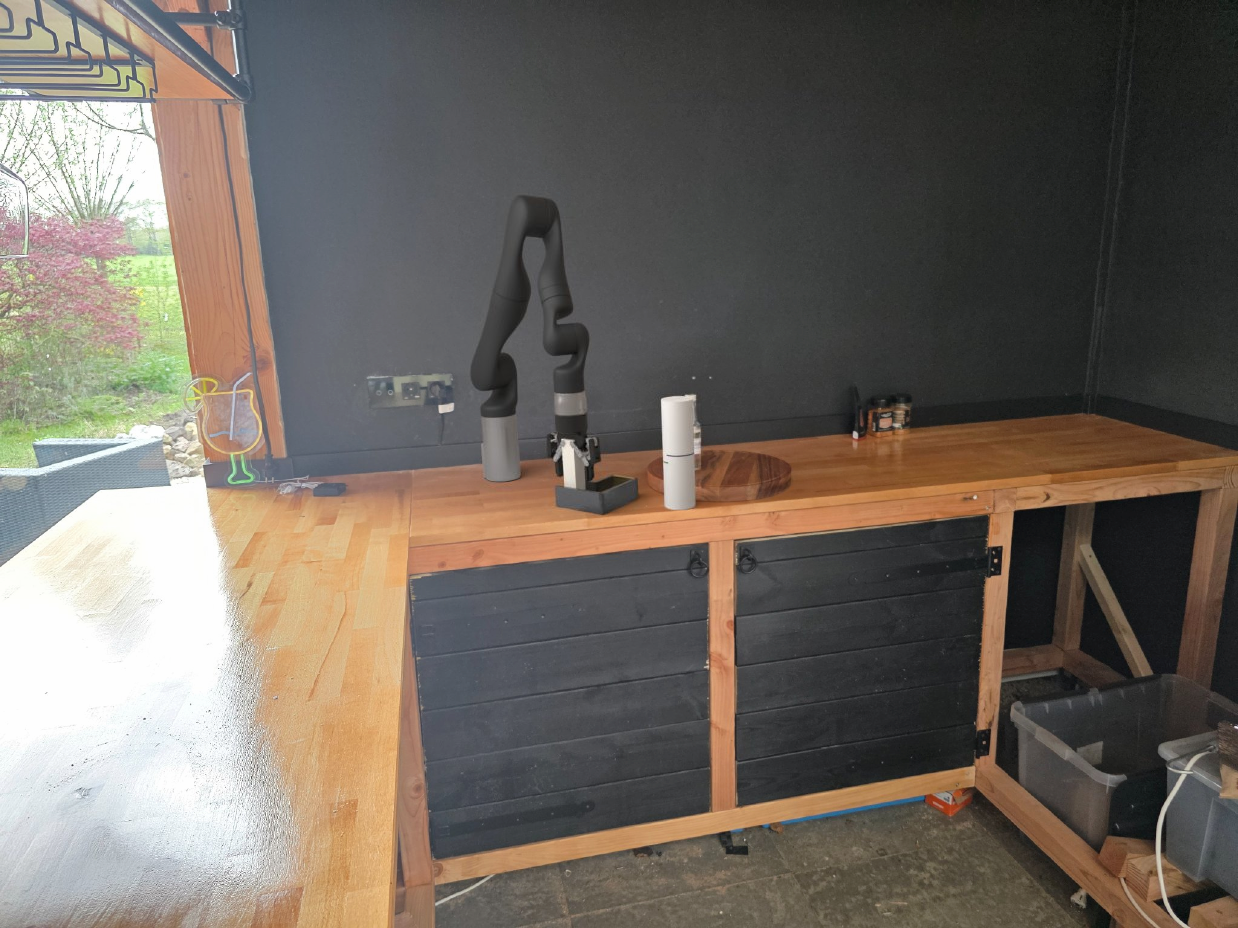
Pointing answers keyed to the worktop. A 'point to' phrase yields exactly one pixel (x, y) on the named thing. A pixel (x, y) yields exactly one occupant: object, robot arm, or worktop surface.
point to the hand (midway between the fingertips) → (575, 478)
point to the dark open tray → (599, 494)
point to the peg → (572, 467)
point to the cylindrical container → (678, 452)
